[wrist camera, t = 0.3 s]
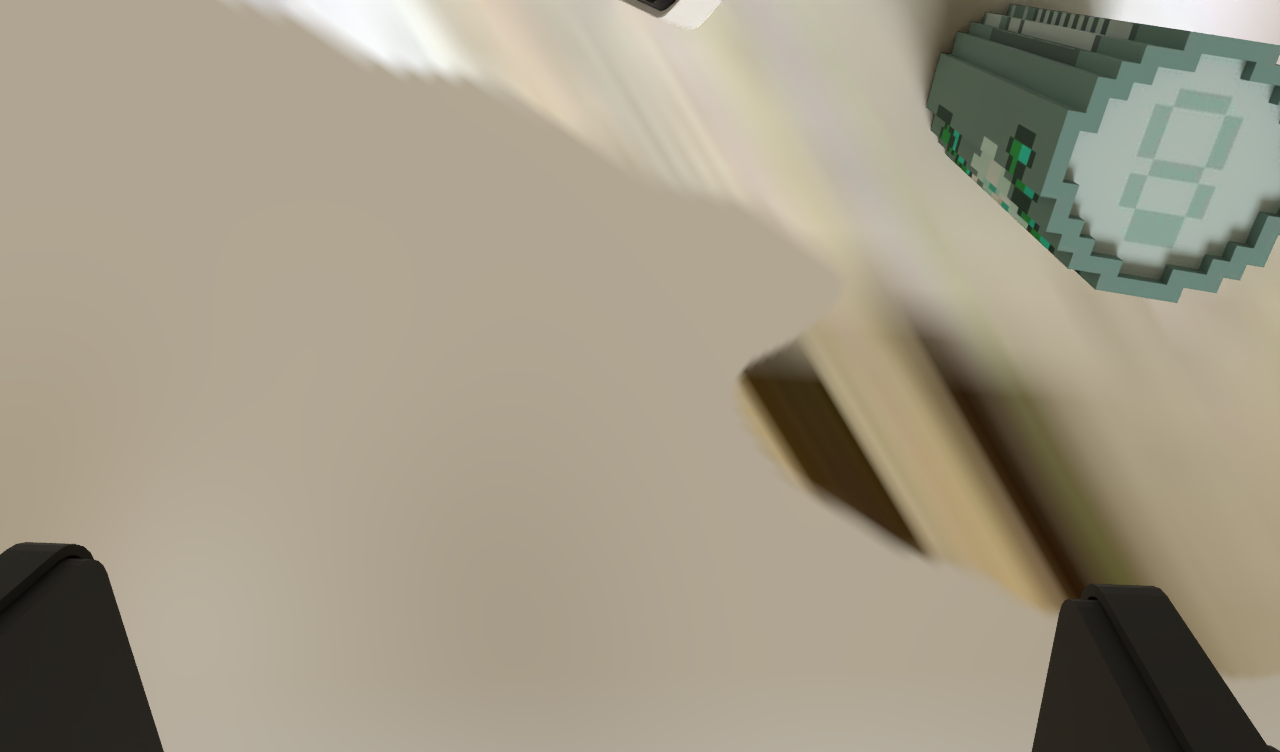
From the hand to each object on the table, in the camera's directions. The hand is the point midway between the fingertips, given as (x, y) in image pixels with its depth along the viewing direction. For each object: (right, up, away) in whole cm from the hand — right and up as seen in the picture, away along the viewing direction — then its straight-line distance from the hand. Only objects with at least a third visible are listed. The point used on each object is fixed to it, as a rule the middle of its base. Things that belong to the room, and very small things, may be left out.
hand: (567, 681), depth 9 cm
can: (+15, +14, +26) cm, 33 cm away
